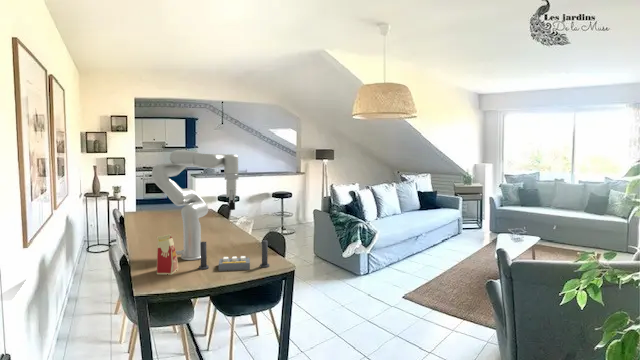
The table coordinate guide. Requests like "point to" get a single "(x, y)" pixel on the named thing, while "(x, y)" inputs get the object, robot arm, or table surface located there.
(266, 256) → the right cable post
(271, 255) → the table surface
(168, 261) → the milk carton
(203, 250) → the post
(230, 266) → the switch panel
